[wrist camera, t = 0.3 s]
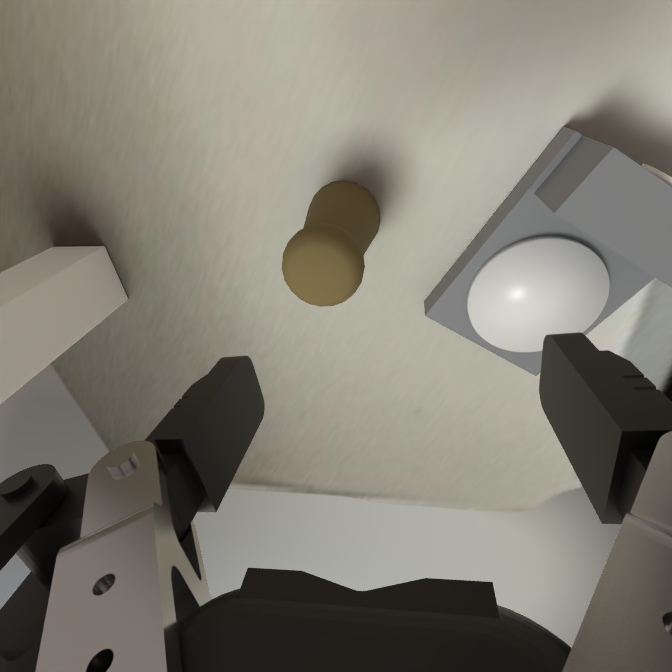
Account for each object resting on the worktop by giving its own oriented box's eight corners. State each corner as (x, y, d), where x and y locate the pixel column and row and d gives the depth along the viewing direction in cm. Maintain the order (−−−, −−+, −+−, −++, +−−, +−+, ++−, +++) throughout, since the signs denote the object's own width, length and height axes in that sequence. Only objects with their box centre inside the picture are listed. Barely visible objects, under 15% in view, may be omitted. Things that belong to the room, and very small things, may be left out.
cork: (391, 197, 30) (384, 251, 21) (364, 263, 33) (349, 333, 24) (319, 169, 29) (280, 212, 20) (300, 239, 33) (260, 301, 24)
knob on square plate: (569, 118, 25) (615, 131, 19) (702, 209, 27) (778, 244, 21) (424, 301, 34) (427, 345, 29) (529, 359, 36) (550, 411, 31)
